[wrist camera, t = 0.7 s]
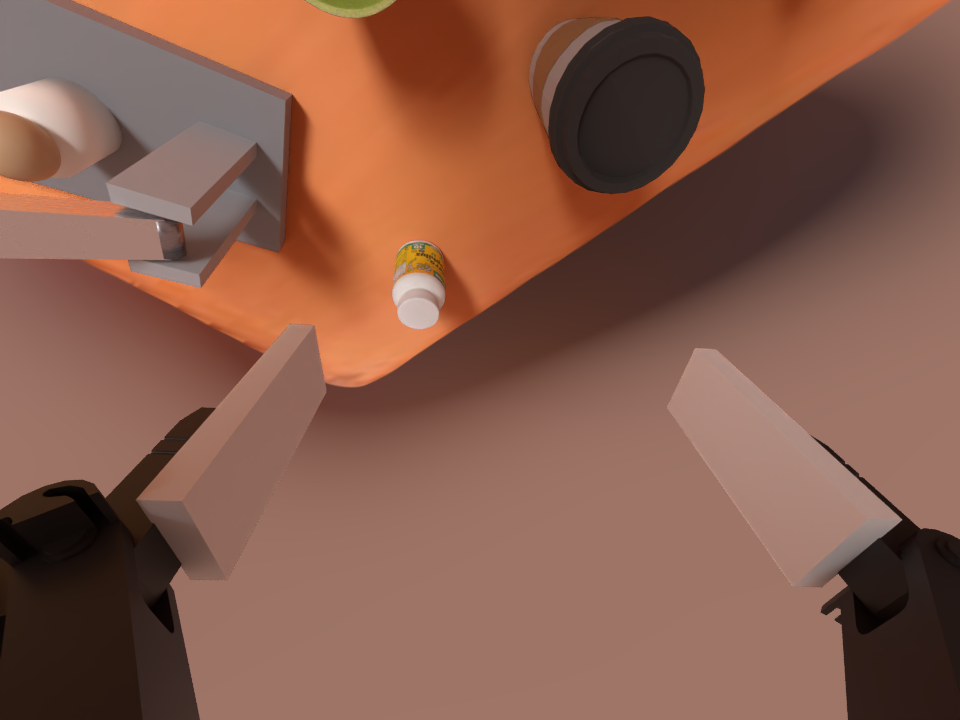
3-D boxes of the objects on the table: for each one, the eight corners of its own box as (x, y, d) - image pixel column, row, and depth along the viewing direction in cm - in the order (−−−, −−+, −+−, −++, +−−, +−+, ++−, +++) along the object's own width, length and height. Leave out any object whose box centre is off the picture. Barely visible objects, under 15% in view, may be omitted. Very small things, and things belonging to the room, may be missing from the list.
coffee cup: (550, 150, 34) (599, 228, 24) (495, 65, 29) (526, 118, 19) (634, 76, 30) (733, 132, 20) (587, -35, 26) (686, -35, 15)
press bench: (-211, -120, 21) (-763, -192, 11) (292, 94, 29) (224, 156, 20) (-67, 139, 30) (-301, 220, 20) (284, 242, 39) (235, 332, 29)
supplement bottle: (387, 263, 41) (378, 318, 35) (414, 228, 39) (409, 281, 32) (426, 287, 44) (425, 342, 38) (454, 256, 42) (457, 310, 35)
